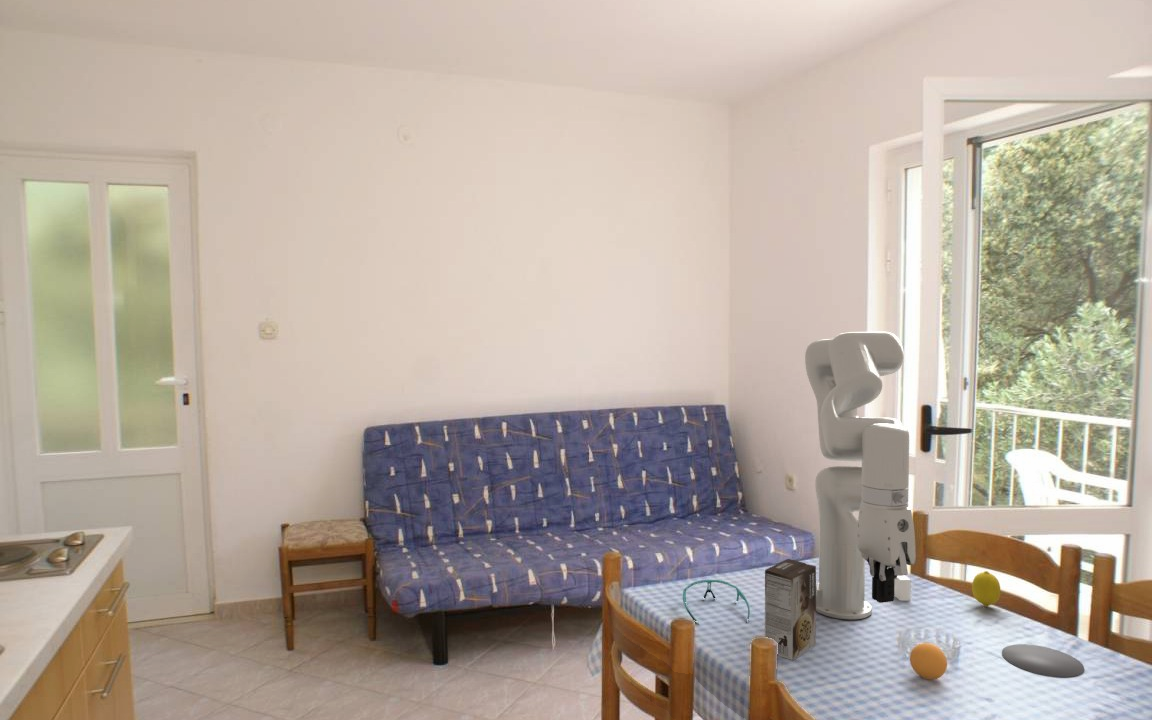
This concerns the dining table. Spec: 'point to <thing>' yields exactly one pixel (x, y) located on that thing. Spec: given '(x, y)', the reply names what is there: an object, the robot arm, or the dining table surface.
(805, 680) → the dining table surface
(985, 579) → the lemon
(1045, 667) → the gray round disc
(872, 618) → the dining table surface
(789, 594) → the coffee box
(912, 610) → the dining table surface
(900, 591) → the napkin holder
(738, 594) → the safety glasses
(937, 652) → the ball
